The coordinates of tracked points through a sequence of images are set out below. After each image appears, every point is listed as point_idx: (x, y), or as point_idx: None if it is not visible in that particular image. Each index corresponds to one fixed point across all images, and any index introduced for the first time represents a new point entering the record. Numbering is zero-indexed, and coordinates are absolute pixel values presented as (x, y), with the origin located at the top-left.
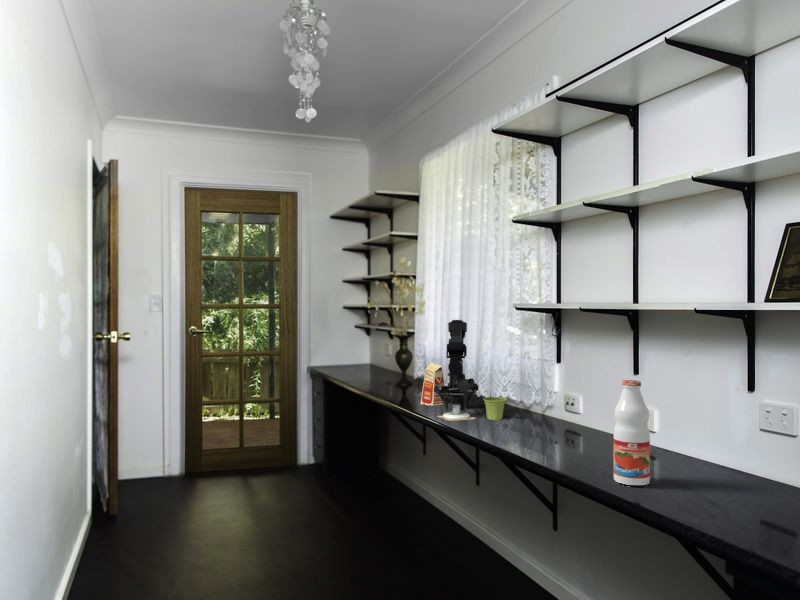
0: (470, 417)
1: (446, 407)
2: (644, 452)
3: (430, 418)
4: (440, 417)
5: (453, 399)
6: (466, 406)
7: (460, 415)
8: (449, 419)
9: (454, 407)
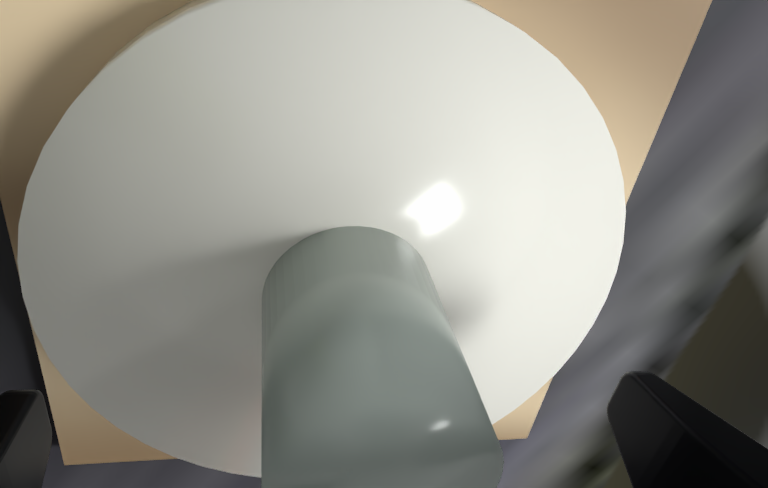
0: (46, 96)
1: (702, 408)
2: None
3: None
4: None
5: None
6: (9, 414)
7: (347, 163)
8: None
9: (477, 392)
